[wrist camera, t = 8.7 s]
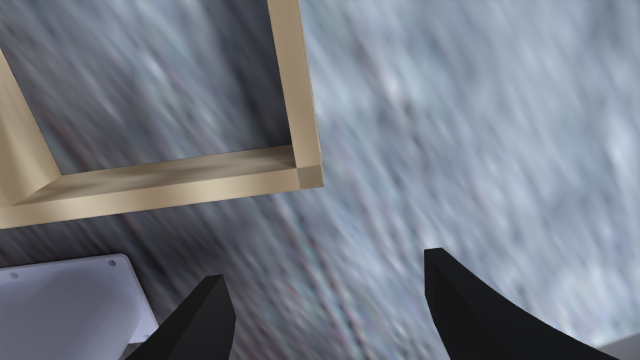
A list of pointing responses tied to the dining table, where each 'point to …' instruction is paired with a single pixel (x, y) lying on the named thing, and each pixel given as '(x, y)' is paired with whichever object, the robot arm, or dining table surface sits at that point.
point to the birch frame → (162, 177)
